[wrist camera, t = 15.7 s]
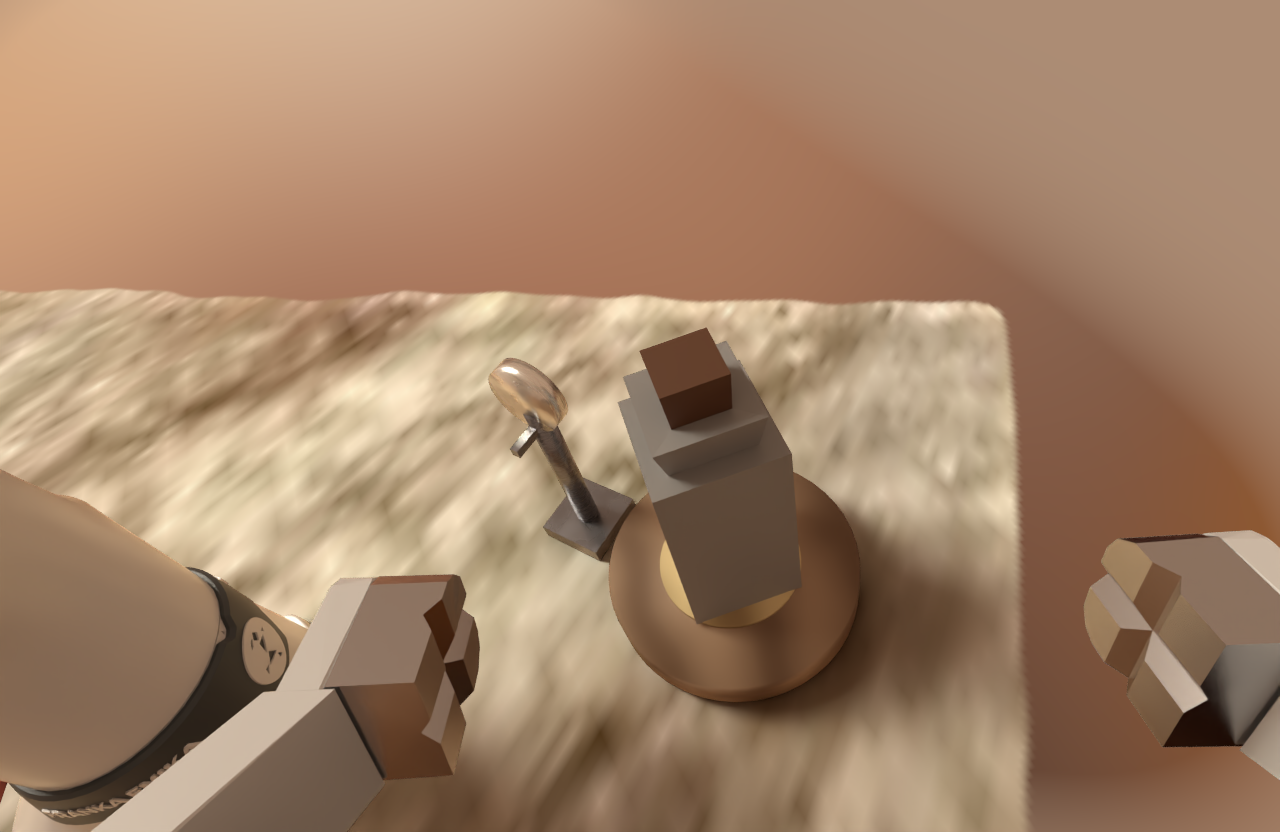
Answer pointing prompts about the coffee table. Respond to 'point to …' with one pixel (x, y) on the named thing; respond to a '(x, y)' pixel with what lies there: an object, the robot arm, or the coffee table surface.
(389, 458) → the coffee table surface
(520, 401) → the dial indicator
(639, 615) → the turntable
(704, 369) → the perfume bottle
